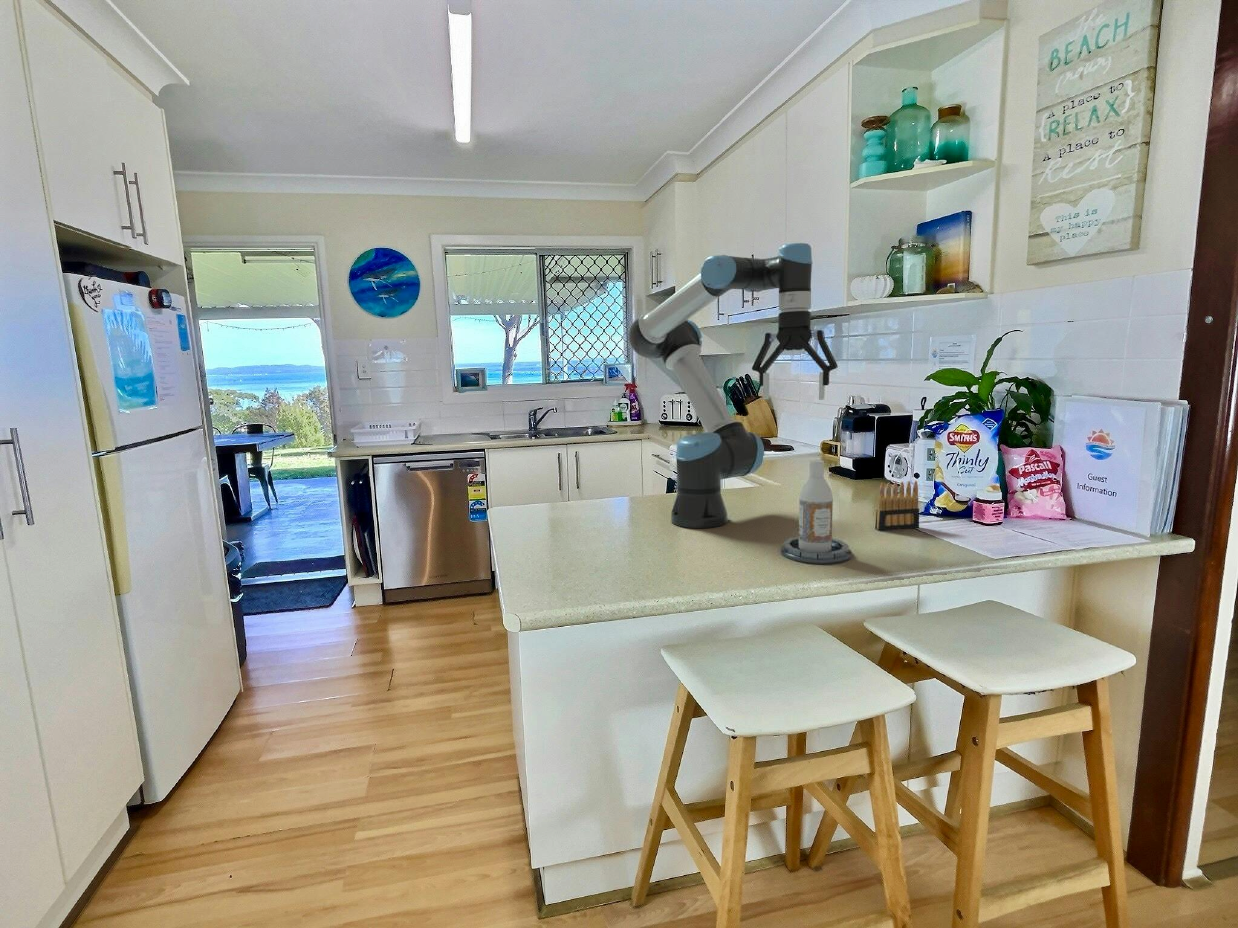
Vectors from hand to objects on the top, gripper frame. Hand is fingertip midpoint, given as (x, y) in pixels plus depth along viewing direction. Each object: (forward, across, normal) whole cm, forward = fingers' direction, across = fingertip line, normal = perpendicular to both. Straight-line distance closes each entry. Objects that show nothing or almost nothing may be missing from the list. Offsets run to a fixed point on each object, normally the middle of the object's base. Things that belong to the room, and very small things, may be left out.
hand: (793, 399), depth 154 cm
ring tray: (+33, +10, -19) cm, 39 cm away
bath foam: (+32, +10, -19) cm, 39 cm away
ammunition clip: (+33, +24, +9) cm, 42 cm away
